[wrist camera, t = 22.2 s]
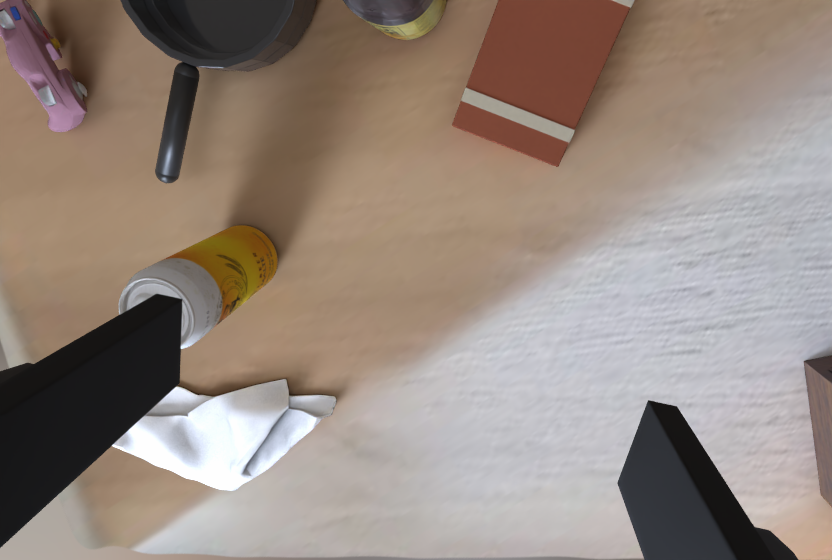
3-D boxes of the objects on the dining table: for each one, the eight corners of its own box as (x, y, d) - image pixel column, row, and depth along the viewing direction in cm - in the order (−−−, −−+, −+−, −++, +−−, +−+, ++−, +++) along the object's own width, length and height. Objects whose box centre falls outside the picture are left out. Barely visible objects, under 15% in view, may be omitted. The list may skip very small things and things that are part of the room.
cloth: (118, 479, 60) (105, 493, 58) (93, 370, 56) (78, 380, 54) (344, 495, 57) (338, 510, 55) (335, 380, 53) (329, 392, 51)
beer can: (267, 296, 51) (184, 370, 37) (209, 268, 51) (103, 332, 36) (290, 241, 49) (210, 297, 35) (229, 212, 49) (125, 255, 34)
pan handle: (184, 59, 42) (171, 57, 40) (206, 67, 42) (194, 65, 40) (161, 177, 45) (148, 179, 43) (181, 184, 45) (169, 187, 43)
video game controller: (110, 119, 49) (89, 105, 42) (59, 138, 48) (29, 127, 41) (51, 10, 46) (19, -23, 40) (-4, 27, 45) (-47, -4, 39)
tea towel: (643, -31, 39) (651, -38, 37) (555, 164, 44) (558, 167, 42) (528, -76, 39) (530, -86, 37) (452, 124, 44) (451, 125, 42)
